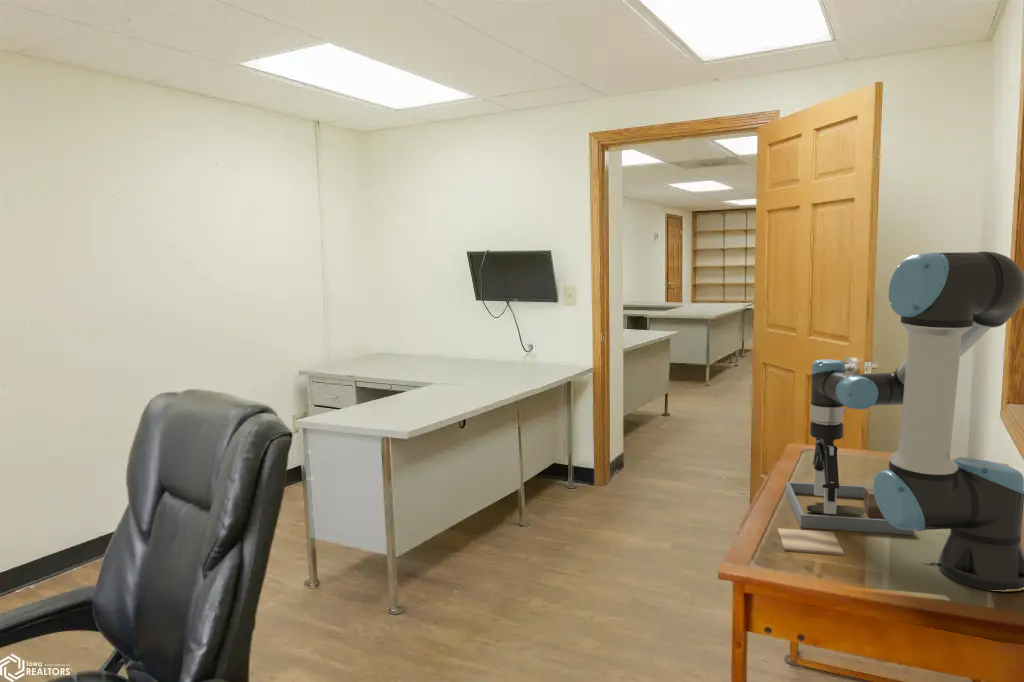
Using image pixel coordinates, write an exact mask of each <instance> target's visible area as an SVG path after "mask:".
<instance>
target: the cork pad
mask: <svg viewBox="0 0 1024 682" xmlns="http://www.w3.org/2000/svg"><path fill="white" fill-rule="evenodd" d="M777 533H778V536H779V538H780V541H781V545H782V548H783V551H786V552H798V553H808V554H809V553H811V554H823V555H837V556H845V552H844V550H843V548H842V547H841V545H840V542H839V540H838V539H837V537H836V535H835V533H834V531H823V530H821V531H820V530H812V529H811V530H807V529H796V528H794V529H793V528H779V527H778V528H777Z"/></svg>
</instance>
